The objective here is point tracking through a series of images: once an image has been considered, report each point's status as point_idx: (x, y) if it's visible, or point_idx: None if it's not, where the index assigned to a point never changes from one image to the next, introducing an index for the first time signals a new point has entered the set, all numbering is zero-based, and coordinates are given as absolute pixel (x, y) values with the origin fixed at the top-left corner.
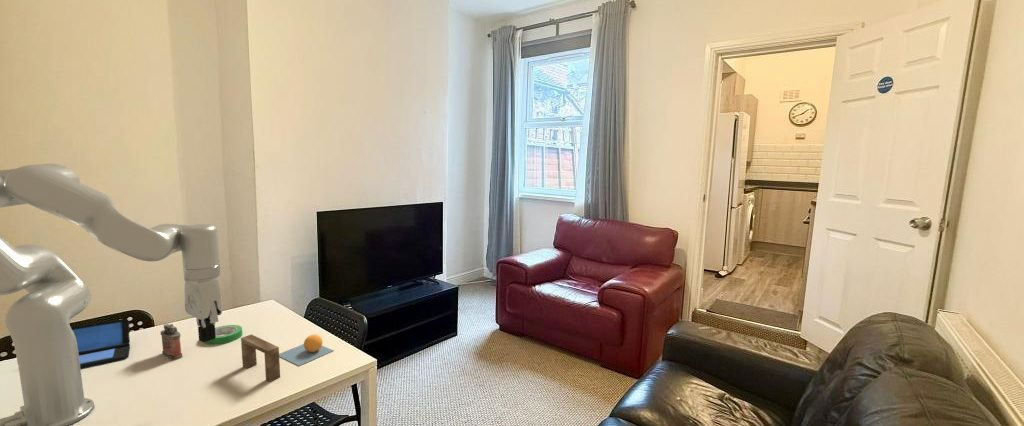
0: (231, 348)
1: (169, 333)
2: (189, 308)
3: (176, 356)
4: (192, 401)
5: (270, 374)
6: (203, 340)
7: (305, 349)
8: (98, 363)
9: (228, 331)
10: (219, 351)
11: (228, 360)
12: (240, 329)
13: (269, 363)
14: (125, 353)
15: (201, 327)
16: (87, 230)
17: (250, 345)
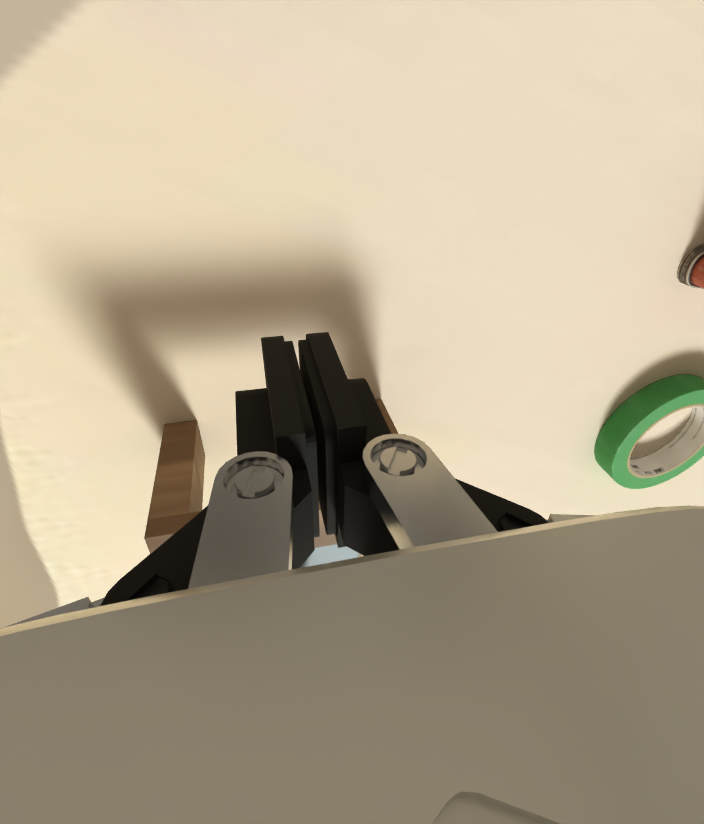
0: (554, 418)
1: None
2: (676, 725)
3: (695, 262)
4: (243, 131)
5: (163, 447)
6: (263, 356)
7: (314, 560)
8: None
9: (666, 450)
10: (575, 385)
11: (480, 382)
12: (621, 482)
13: (155, 485)
14: None
15: (297, 448)
16: None
17: None
